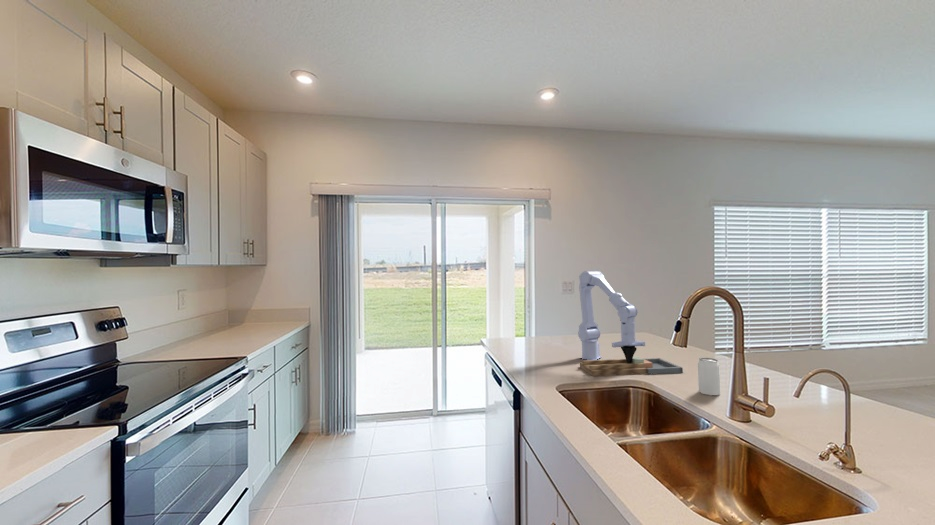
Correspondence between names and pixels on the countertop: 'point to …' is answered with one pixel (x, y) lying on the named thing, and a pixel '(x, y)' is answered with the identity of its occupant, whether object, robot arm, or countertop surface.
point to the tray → (663, 367)
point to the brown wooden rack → (612, 367)
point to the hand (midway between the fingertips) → (629, 362)
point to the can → (708, 376)
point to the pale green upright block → (637, 360)
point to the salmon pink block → (648, 364)
